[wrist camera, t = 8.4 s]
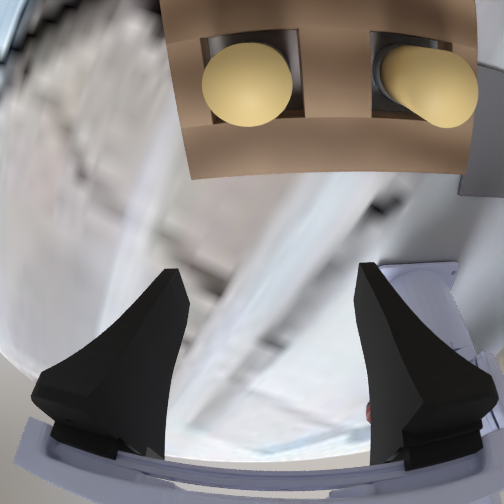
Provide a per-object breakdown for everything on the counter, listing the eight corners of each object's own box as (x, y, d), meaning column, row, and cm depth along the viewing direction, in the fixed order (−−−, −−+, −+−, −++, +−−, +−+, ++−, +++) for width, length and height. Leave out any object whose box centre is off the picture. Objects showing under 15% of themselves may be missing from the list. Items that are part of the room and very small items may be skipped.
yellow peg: (429, 104, 16) (477, 132, 12) (373, 101, 17) (408, 128, 12) (428, 46, 14) (480, 55, 9) (369, 41, 15) (406, 43, 10)
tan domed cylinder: (292, 101, 18) (297, 126, 13) (227, 106, 18) (206, 133, 13) (286, 39, 15) (290, 37, 10) (218, 45, 16) (193, 47, 11)
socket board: (452, 162, 18) (465, 174, 17) (198, 167, 21) (191, 179, 19) (459, 0, 11) (475, -1, 10) (169, -5, 13) (158, -9, 12)
